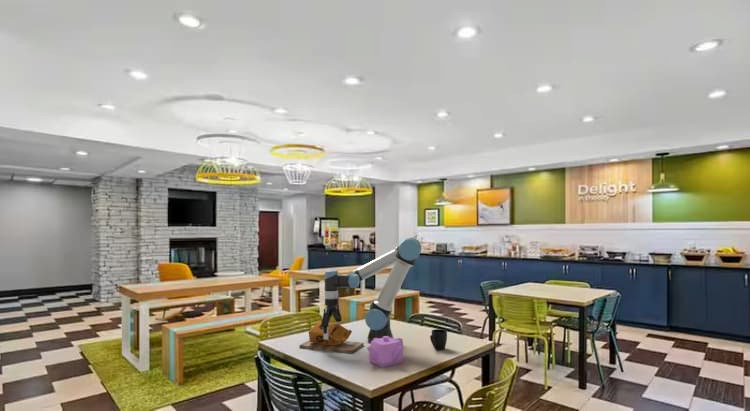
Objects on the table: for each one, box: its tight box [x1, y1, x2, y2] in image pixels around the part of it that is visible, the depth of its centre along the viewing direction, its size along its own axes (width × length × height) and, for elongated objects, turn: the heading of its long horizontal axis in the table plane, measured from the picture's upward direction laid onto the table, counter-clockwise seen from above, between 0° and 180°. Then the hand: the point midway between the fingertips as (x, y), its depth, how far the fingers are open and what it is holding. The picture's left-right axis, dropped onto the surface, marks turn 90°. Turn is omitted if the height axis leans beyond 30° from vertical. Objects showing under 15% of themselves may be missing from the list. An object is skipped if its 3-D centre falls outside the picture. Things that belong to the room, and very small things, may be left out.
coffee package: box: [308, 320, 352, 345], centre depth 228 cm, size 10×12×22 cm
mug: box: [429, 328, 448, 351], centre depth 219 cm, size 8×12×10 cm
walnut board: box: [299, 340, 365, 355], centre depth 227 cm, size 32×16×2 cm, turn 68°
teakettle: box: [366, 336, 404, 368], centre depth 200 cm, size 17×17×12 cm
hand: (331, 336), depth 227 cm, fingers open, 13 cm apart
